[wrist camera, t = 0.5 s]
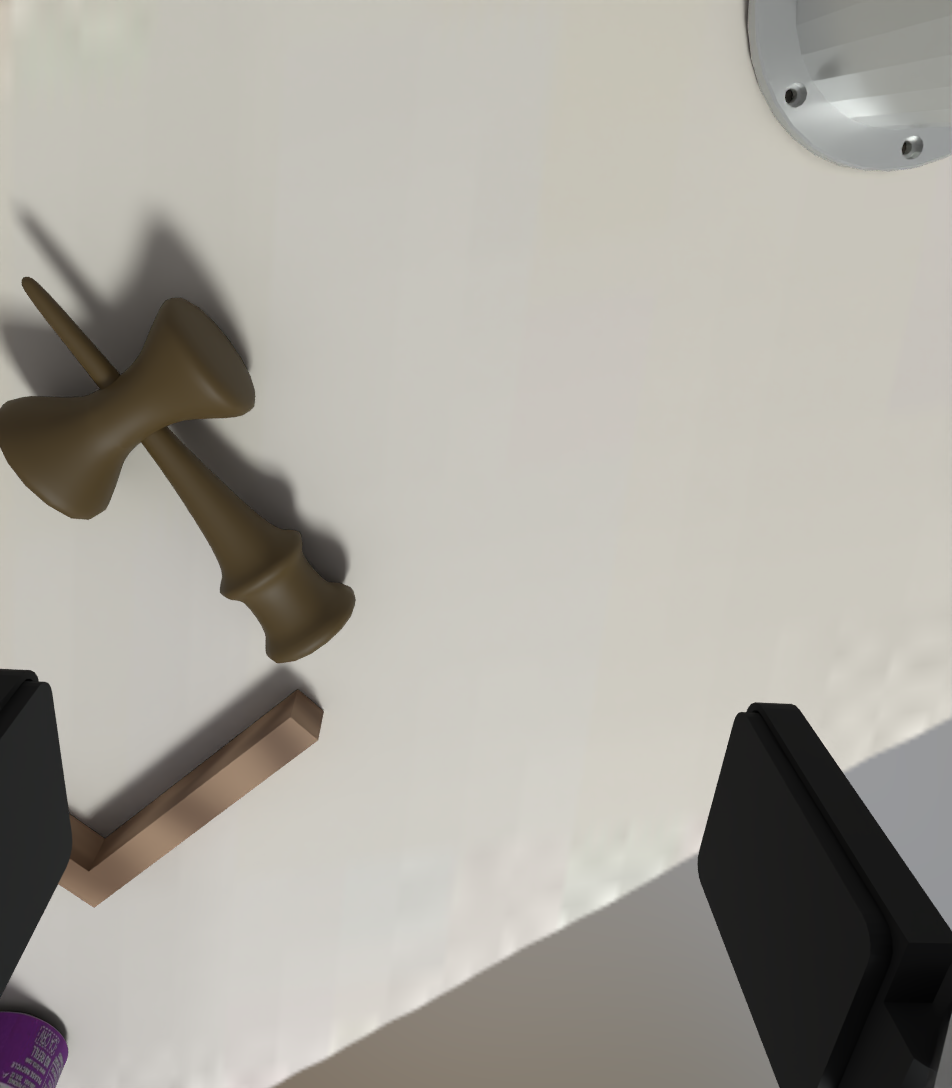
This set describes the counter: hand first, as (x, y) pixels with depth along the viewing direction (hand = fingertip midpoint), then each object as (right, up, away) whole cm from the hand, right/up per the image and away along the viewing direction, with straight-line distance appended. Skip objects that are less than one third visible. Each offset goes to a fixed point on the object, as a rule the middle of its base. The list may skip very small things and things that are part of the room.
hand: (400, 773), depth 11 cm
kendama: (-12, +7, +28) cm, 32 cm away
